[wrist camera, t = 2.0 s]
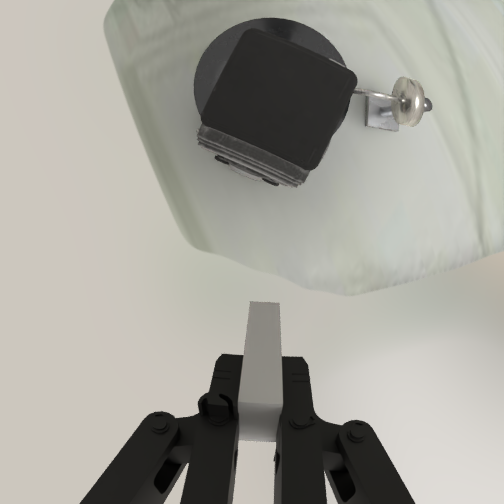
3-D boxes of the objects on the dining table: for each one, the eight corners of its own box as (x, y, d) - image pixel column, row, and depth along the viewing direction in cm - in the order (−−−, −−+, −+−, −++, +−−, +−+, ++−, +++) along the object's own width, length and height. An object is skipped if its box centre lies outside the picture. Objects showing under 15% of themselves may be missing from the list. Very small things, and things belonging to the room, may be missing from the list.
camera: (210, 148, 31) (164, 157, 17) (248, 67, 27) (231, 16, 13) (293, 185, 32) (311, 222, 18) (332, 105, 28) (380, 83, 14)
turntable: (198, 21, 25) (197, 20, 25) (348, 27, 24) (349, 26, 24) (192, 158, 32) (192, 158, 31) (347, 165, 31) (347, 165, 31)
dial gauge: (329, 87, 28) (361, 60, 16) (396, 98, 27) (451, 85, 16) (328, 122, 29) (361, 113, 18) (395, 132, 29) (451, 134, 18)
